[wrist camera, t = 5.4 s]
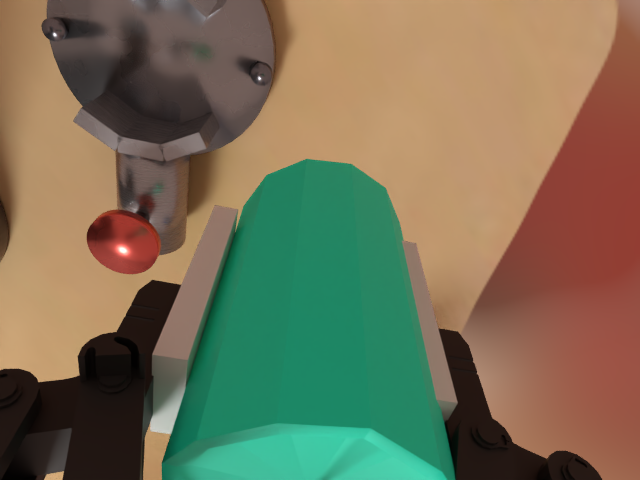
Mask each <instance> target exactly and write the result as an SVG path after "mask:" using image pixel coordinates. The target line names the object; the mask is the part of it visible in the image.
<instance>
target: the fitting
mask: <svg viewBox="0 0 640 480" xmlns="http://www.w3.org/2000/svg"><path fill="white" fill-rule="evenodd" d="M42 31H43V33H44V35H45V36H46V37H47V38H48V39H49V40H50V44H51V47H52V51H53V54H54V58H55V60H56V62H57V65H58V67H59V70H60V72H61V74H62V76H63V78H64V80H65V82H66V83H67V85H68V87H69V88H70V90H71V91H72V93H73V94H74V96H75V97H76V99H77V100H78V101H79V102H80V104H81V105H82V106H83V107H82V108H81V109H80V111H79V112H78V114H77V116H76V117H75V119H74V122H75V123H76V124H78V125H79V126H81V127H82V128H83V129H85V130H86V131H88V132H89V133H90V134H92V135H93V136H95V137H96V138H97V139H99V140H100V141H102V142H103V143H104V144H106V145H107V146H109V147H110V148H111V149H113V150H114V151H115V150H116V178H117V207H118V210H111V211H107V212H105V213H103V214H101V215H100V216H99V217H98V218H97V219H96V220H95V221H94V222H93V223H92V225H91V226H90V227H89V229H88V232H87V244H88V247H89V249H90V251H91V253H92V254H93V256H94V257H95V258H96V259H97V260H98V261H99V262H100V263H101V264H103V265H104V266H106V267H107V268H109V269H111V270H113V271H116V272H119V273H124V274H137V273H141V272H144V271H146V270H148V269H149V268H150V267H151V266H152V265H153V264H154V263H155V261H156V259H157V257H158V256H159V255H163V254H168V253H171V252H173V251H176V250H177V249H179V248H180V247H181V246H182V245H183V244H184V242H185V238H186V221H187V204H188V186H189V169H190V155H197V154H202V153H206V152H210V151H213V150H215V149H218V148H221V147H223V146H225V145H226V144H228V143H230V142H232V141H233V140H234V139H236V138H237V137H238V136H240V135H241V134H242V133H243V132H244V131H245V130H246V129H247V128H248V127H249V126H250V125H251V124H252V123H253V121H254V120H255V118H256V117H257V116H258V114H259V112H260V111H261V109H262V107H263V105H264V103H265V101H266V99H267V96H268V93H269V91H270V88H271V85H272V81H273V76H274V71H275V60H276V49H275V37H274V31H273V25H272V22H271V19H270V15H269V12H268V9H267V6H266V4H265V2H264V0H48V2H47V19H46V20H44V21H43V23H42Z"/></svg>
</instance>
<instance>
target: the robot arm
mask: <svg viewBox="0 0 640 480" xmlns="http://www.w3.org/2000/svg"><path fill="white" fill-rule="evenodd" d="M237 213H238V209H233V208H227V207H222V206H217V205H215V207H214V209H213V211H212V214H211V216H210V218H209V221H208V223H207V226H206V228H205V230H204V233H203V235H202V237H201V240H200V242H199V245H198V247H197V249H196V252H195V254H194V256H193V259H192V261H191V264H190V266H189V268H188V271H187V273H186V275H185V278H184V280H183V283H182V285H179V284H173V283H167V282H161V281H155V280H152V281H150V282H149V283H148V284H146V285H145V286H144V287H142V288H141V289H140V290H139V291H138V293H137V295H136V296H135V298H134V300H133V302H132V305H131V306H130V308H129V310H128V311H127V313H126V317H124V319H123V321H122V323H121V325H120V326H119V328H118V330H117V332H113V333H107V334H102V335H100V336H97V337H95V338H93V339H91V340H90V341H89V342H87V343H86V344H85V345H84V346H83V347H82V349H81V351H80V353H79V355H78V363H79V373H80V375H79V376H77V377H74V378H69V379H64V380H55V381H46V382H38V380H37V378H36V377H35V376H34V375H33V374H31V373H30V372H28V371H25V370H21V369H3V370H0V480H44V478H45V476H46V474H50V473H56V472H62V471H64V475H63V480H143V467H144V444H145V435H146V432H147V429H148V427H149V424H150V421H151V430H150V431H153V432H160V433H167V434H171V433H172V430H173V427H174V423H175V420H176V417H177V414H178V411H179V408H180V405H181V401H182V398H183V395H184V392H185V389H186V386H187V383H188V379H189V376H190V373H191V370H192V367H193V364H194V361H195V358H196V354H197V351H198V348H199V345H200V342H201V339H202V336H203V332H204V329H205V326H206V323H207V320H208V317H209V314H210V310H211V307H212V304H213V301H214V298H215V295H216V292H217V289H218V285H219V282H220V279H221V276H222V273H223V270H224V267H225V263H226V260H227V257H228V254H229V251H230V248H231V245H232V241H233V238H234V235H235V229H236V221H237ZM7 243H8V226H7V220H6V216H5V213H4V210H3V207H2V204H1V202H0V261H1V260H2V258H3V256H4V254H5V251H6V248H7ZM402 243H403V248H404V253H405V257H406V262H407V266H408V271H409V276H410V280H411V285H412V289H413V294H414V299H415V303H416V308H417V312H418V317H419V322H420V326H421V331H422V335H423V340H424V345H425V349H426V354H427V358H428V363H429V367H430V372H431V377H432V381H433V386H434V390H435V395H436V400H437V402H438V404H439V406H440V408H441V411H442V415H443V420H444V424H445V429H446V433H447V438H448V442H449V447H450V451H451V456H452V460H453V465H454V470H455V478H456V480H602V478H601V477H600V475H599V474H598V472H597V471H596V470H595V469H594V468H593V467H592V466H591V465H590V464H589V463H588V462H587V461H586V460H584V459H583V458H581V457H580V456H578V455H577V454H574V453H571V452H568V451H556V452H554V453H552V454H551V455H550V456H549V457H548V458H547V459H546V458H544V457H541V456H539V455H537V454H535V453H532V452H530V451H528V450H526V449H524V448H521V447H520V446H518V445H516V444H514V443H513V442H512V439H511V437H510V436H509V434H508V432H507V431H506V429H505V428H504V427H502V425H500V424H499V423H498V422H497V421H496V420H494V419H492V417H491V413H490V410H489V407H488V404H487V401H486V398H485V395H484V392H483V389H482V386H481V383H480V379H479V376H478V375H477V370H476V367H475V364H474V363H473V358H472V354H471V351H470V348H469V345H468V344H467V343H466V342H465V340H464V339H463V338H462V336H461V335H460V334H459V332H456V331H451V330H445V329H439V328H438V326H437V322H436V318H435V314H434V310H433V306H432V302H431V299H430V295H429V291H428V287H427V283H426V279H425V276H424V272H423V268H422V264H421V260H420V256H419V253H418V249H417V245H416V243H412V242H407V241H402Z"/></svg>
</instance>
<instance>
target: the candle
mask: <svg viewBox="0 0 640 480" xmlns="http://www.w3.org/2000/svg"><path fill="white" fill-rule="evenodd" d="M402 241H404V240H403V236H402V231H401V227H400V222H399V220H398V217H397V215H396V213H395V210H394V208H393V205H392V203H391V200H390V198H389V195H388V193H387V190H386V188H385V187H383V186H382V185H380V184H379V183H378V182H376V181H375V180H373V179H372V178H371V177H369V176H368V175H366V174H365V173H363V172H362V171H361V170H359V169H358V168H356V167H355V166H353V165H352V164H347V163H338V162H329V161H320V160H311V159H306V160H303V161H301V162H298V163H296V164H293V165H291V166H288V167H286V168H283V169H281V170H278V171H276V172H273V173H271V174H268V175H266V177H265V178H264V179H263V181H262V182H261V183H260V185H259V186H258V188H257V189H256V190H255V192H254V193H253V194H252V196H251V197H250V198H249V200H248V201H247V202H246V204H245V205H244V207H243V210H242V213H241V216H240V220H239V223H238V226H237V229H236V232H235V235H234V238H233V241H232V245H231V248H230V251H229V254H228V257H227V260H226V263H225V267H224V270H223V273H222V276H221V279H220V282H219V285H218V289H217V292H216V295H215V298H214V301H213V304H212V307H211V310H210V314H209V317H208V320H207V323H206V326H205V329H204V332H203V336H202V339H201V342H200V345H199V348H198V351H197V354H196V358H195V361H194V364H193V367H192V370H191V373H190V376H189V379H188V383H187V386H186V389H185V392H184V395H183V398H182V401H181V405H180V408H179V411H178V414H177V417H176V420H175V423H174V427H173V430H172V433H171V436H170V439H169V442H168V445H167V448H166V452H165V455H164V458H163V461H162V480H456V478H455V470H454V465H453V460H452V456H451V451H450V447H449V442H448V438H447V433H446V429H445V424H444V420H443V415H442V411H441V408H440V406H439V404H438V402H437V400H436V395H435V390H434V386H433V381H432V377H431V372H430V367H429V363H428V358H427V354H426V349H425V345H424V340H423V335H422V331H421V326H420V322H419V317H418V312H417V308H416V303H415V299H414V294H413V289H412V285H411V280H410V276H409V271H408V266H407V262H406V257H405V253H404V248H403V243H402Z"/></svg>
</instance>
